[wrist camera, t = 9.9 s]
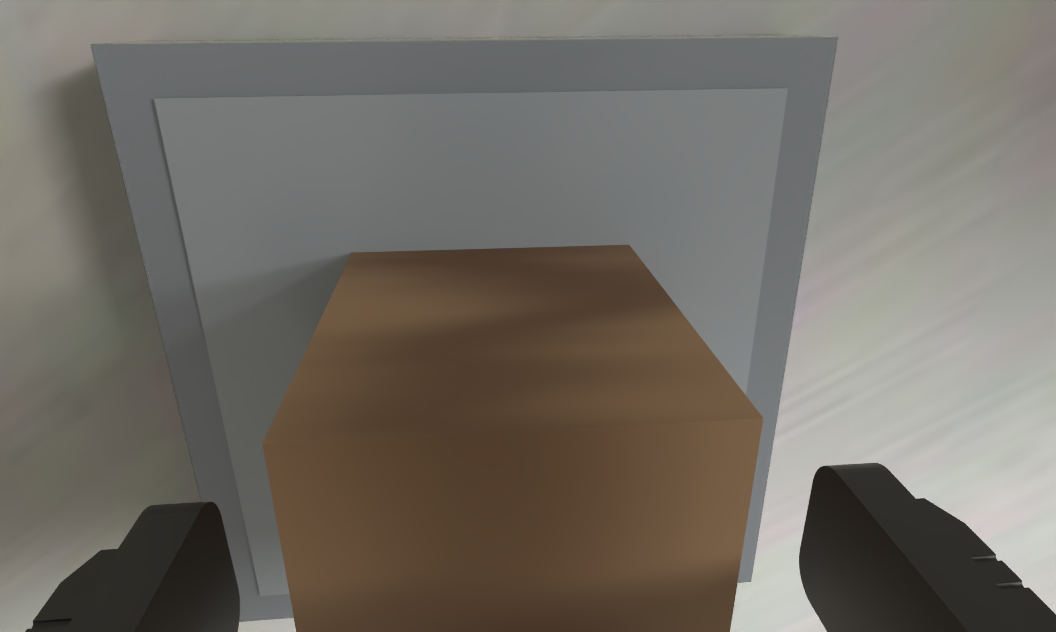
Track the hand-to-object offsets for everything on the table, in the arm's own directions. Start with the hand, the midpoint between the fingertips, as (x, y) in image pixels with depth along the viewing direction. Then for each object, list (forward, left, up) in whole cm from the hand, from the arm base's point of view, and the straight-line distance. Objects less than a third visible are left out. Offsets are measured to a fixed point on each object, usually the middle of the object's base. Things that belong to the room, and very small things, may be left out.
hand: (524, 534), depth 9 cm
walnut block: (0, 0, -5) cm, 5 cm away
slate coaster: (0, 0, -7) cm, 7 cm away
